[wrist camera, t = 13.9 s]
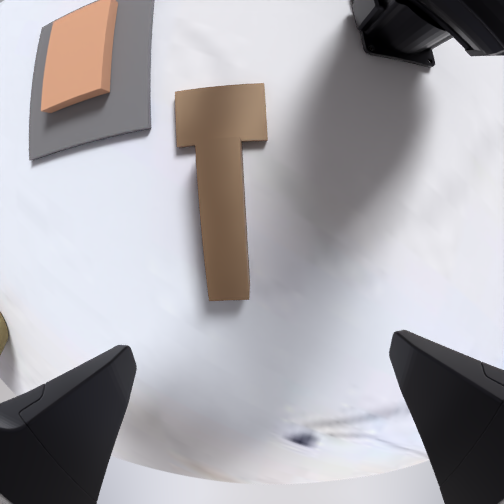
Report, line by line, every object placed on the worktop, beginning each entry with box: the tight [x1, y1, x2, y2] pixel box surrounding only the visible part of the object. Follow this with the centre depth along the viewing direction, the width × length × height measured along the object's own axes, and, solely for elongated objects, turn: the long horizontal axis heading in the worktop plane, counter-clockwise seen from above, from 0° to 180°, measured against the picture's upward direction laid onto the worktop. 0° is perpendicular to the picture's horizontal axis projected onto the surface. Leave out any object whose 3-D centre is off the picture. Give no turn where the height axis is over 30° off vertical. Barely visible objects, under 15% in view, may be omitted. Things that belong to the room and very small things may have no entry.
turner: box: [175, 83, 268, 301], centre depth 18 cm, size 6×14×3 cm, turn 3°
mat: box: [29, 0, 154, 160], centre depth 16 cm, size 12×14×1 cm
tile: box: [41, 0, 118, 113], centre depth 14 cm, size 6×2×9 cm
